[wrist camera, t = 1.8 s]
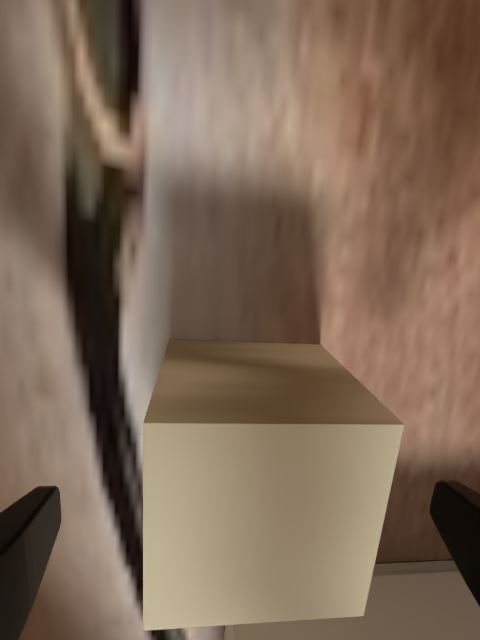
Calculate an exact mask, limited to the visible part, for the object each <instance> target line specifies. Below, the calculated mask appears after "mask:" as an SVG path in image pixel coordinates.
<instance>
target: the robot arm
mask: <svg viewBox="0 0 480 640" xmlns="http://www.w3.org/2000/svg"><path fill="white" fill-rule="evenodd" d="M430 514H431V518H432V520H433V522H434V524H435V526H436V528H437V529H438V531H439V533H440V535H441V537H442V539H443V541H444V543H445V545H446V547H447V549H448V551H449V553H450V555H451V556H452V558H453V560H454V562H455V564H456V566H457V568H458V570H459V572H460V574H461V576H462V577H463V579H464V581H465V583H466V585H467V587H468V588H469V590H470V592H471V593H472V595H473V597H474V598H475V600H476V602H477V603H478V605H479V606H480V493H478V492H476V491H474V490H472V489H470V488H468V487H467V486H465V485H463V484H461V483H459V482H457V481H454V480H440V481H438V482H437V483H436V484H435V488H434V492H433V496H432V500H431V504H430ZM60 524H61V505H60V492H59V489H58V487H56V486H39V487H36V488H35V489H33V490H32V491H30V492H29V493H28V494H26V495H25V496H23V497H22V498H21V499H19V500H18V501H16V502H15V503H13V504H12V505H11V506H9V507H8V508H6V509H5V510H4V511H2V512H1V513H0V640H18V639H19V637H20V635H21V632H22V630H23V628H24V626H25V623H26V621H27V619H28V616H29V614H30V612H31V609H32V606H33V604H34V601H35V598H36V595H37V592H38V589H39V587H40V584H41V581H42V578H43V575H44V572H45V569H46V566H47V563H48V560H49V557H50V555H51V552H52V549H53V546H54V543H55V540H56V537H57V534H58V531H59V528H60Z"/></svg>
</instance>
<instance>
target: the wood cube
mask: <svg viewBox="0 0 480 640" xmlns="http://www.w3.org/2000/svg"><path fill="white" fill-rule="evenodd" d="M403 429H404V424H403V423H402V422H401V421H400V420H399V419H398V418H397V417H396V416H395V415H394V414H393V413H392V412H391V411H389V410H388V409H387V408H386V407H385V406H384V405H383V404H382V403H381V402H380V401H379V400H378V399H377V398H376V397H375V396H374V395H373V394H372V393H371V392H370V391H369V390H367V389H366V388H365V387H364V386H363V385H362V384H361V383H360V382H359V381H358V380H357V379H356V378H355V377H354V376H353V375H352V374H351V373H350V372H349V371H348V370H347V369H346V368H344V367H343V366H342V365H341V364H340V363H339V362H338V361H337V360H336V359H335V358H334V357H333V356H332V355H331V354H330V353H329V352H328V351H327V350H326V349H325V348H324V347H322V346H321V345H320V344H292V343H264V342H235V341H207V340H179V339H170V340H169V343H168V346H167V350H166V353H165V356H164V359H163V362H162V366H161V369H160V372H159V375H158V378H157V381H156V385H155V388H154V391H153V394H152V397H151V400H150V404H149V407H148V410H147V413H146V416H145V419H144V423H143V631H145V630H160V629H175V628H191V627H206V626H221V625H236V624H251V623H266V622H281V621H297V620H312V619H327V618H342V617H357V616H364V612H365V607H366V602H367V597H368V593H369V588H370V583H371V579H372V574H373V569H374V565H375V560H376V555H377V551H378V546H379V541H380V537H381V532H382V527H383V522H384V518H385V513H386V508H387V504H388V499H389V494H390V490H391V485H392V480H393V476H394V471H395V466H396V462H397V457H398V452H399V447H400V443H401V438H402V433H403Z"/></svg>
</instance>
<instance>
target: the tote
mask: <svg viewBox="0 0 480 640" xmlns="http://www.w3.org/2000/svg"><path fill="white" fill-rule="evenodd" d="M224 640H480V606H479V605H478V603H477V602H476V600H475V598H474V597H473V595H472V593H471V592H470V590H469V588H468V587H467V585H466V583H465V581H464V579H463V577H462V576H461V574H460V572H459V570H458V568H457V566H456V564H455V562H454V560H450V561H429V562H407V563H386V564H375V565H374V569H373V574H372V579H371V583H370V588H369V593H368V597H367V602H366V607H365V612H364V616H357V617H342V618H327V619H312V620H297V621H281V622H266V623H251V624H236V625H225V628H224Z"/></svg>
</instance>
